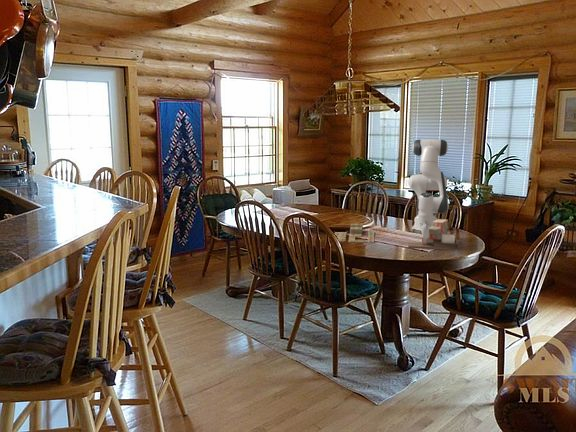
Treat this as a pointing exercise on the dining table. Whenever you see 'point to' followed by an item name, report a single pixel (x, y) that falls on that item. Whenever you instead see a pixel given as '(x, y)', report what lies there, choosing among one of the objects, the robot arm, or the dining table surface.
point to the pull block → (443, 239)
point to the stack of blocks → (437, 229)
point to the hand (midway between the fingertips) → (424, 242)
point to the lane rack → (435, 245)
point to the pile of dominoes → (355, 234)
